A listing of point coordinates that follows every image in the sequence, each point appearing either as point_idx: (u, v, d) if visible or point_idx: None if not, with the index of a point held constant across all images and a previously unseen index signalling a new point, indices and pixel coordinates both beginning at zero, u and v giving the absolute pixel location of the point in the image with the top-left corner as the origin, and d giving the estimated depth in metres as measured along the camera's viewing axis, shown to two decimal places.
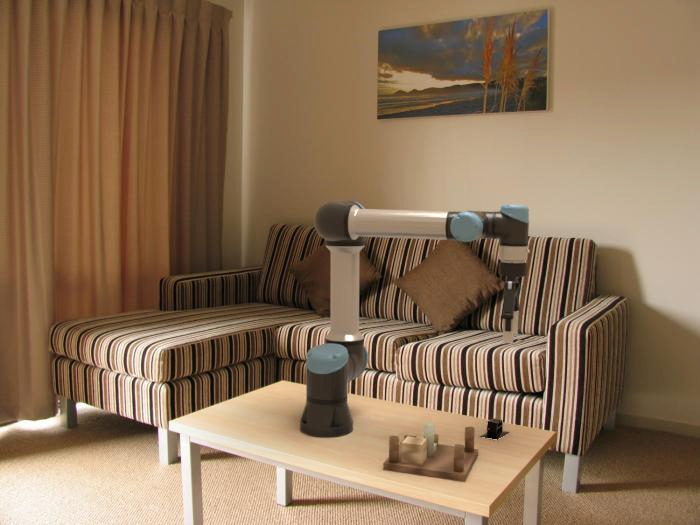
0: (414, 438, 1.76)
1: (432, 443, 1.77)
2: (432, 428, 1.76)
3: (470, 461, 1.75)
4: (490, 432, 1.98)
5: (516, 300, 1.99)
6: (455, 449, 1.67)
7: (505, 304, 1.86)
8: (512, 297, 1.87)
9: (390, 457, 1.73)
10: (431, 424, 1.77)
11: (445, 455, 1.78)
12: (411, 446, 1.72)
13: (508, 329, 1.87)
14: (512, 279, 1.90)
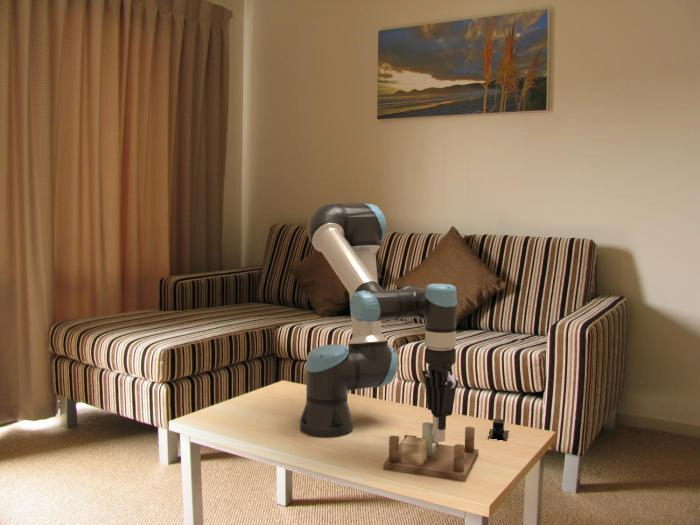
0: (414, 438, 1.76)
1: (430, 443, 1.77)
2: (430, 428, 1.76)
3: (470, 461, 1.75)
4: (496, 433, 1.98)
5: None
6: (455, 449, 1.67)
7: (446, 405, 1.71)
8: (453, 396, 1.71)
9: (390, 457, 1.73)
10: (430, 424, 1.77)
11: (445, 455, 1.78)
12: (411, 446, 1.72)
13: (443, 427, 1.74)
14: (449, 368, 1.71)
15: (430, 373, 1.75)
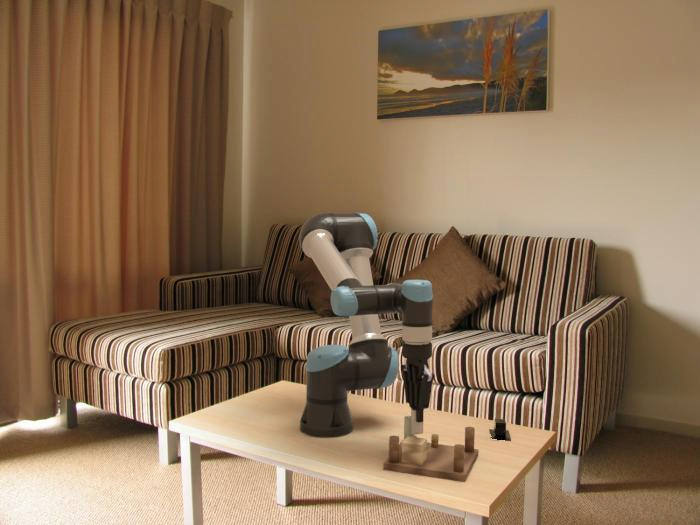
0: (414, 438, 1.76)
1: None
2: (407, 421, 1.81)
3: (470, 461, 1.75)
4: (499, 433, 1.97)
5: None
6: (455, 449, 1.67)
7: (423, 397, 1.75)
8: (430, 389, 1.76)
9: (390, 457, 1.73)
10: (409, 418, 1.82)
11: (445, 455, 1.78)
12: (411, 446, 1.72)
13: (421, 420, 1.79)
14: (426, 362, 1.76)
15: (407, 367, 1.79)
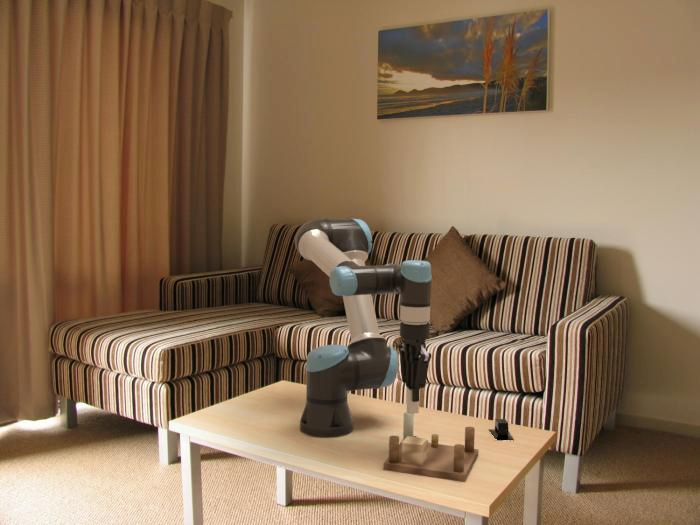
0: (414, 438, 1.76)
1: (405, 432, 1.85)
2: (404, 417, 1.85)
3: (470, 461, 1.75)
4: (501, 433, 1.97)
5: None
6: (455, 449, 1.67)
7: (419, 377, 1.77)
8: (426, 369, 1.77)
9: (390, 457, 1.73)
10: (407, 414, 1.85)
11: (445, 455, 1.78)
12: (411, 446, 1.72)
13: (417, 399, 1.80)
14: (423, 342, 1.77)
15: (405, 347, 1.81)
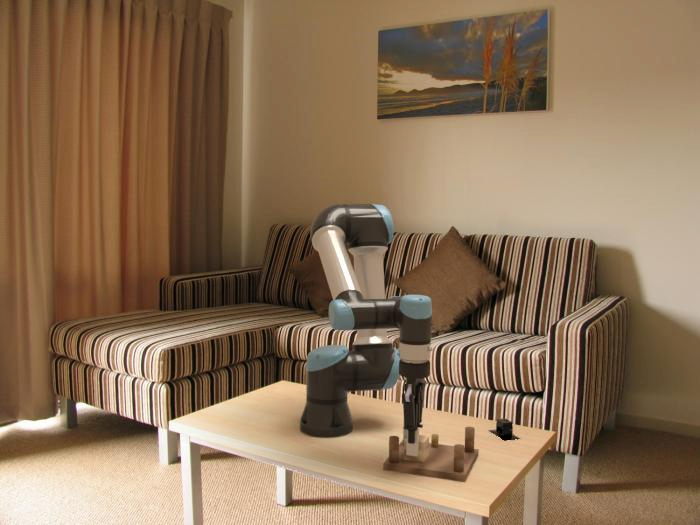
0: None
1: (405, 432, 1.85)
2: None
3: (470, 461, 1.75)
4: (506, 433, 1.97)
5: (417, 409, 1.73)
6: (455, 449, 1.67)
7: (405, 417, 1.69)
8: (411, 411, 1.67)
9: (390, 457, 1.73)
10: None
11: (445, 455, 1.78)
12: None
13: (411, 441, 1.71)
14: (411, 381, 1.68)
15: None
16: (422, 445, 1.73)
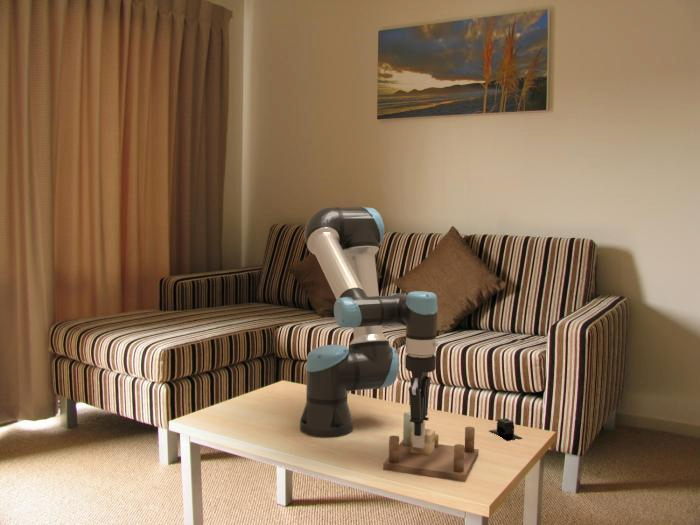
0: None
1: (405, 432, 1.85)
2: (404, 417, 1.85)
3: (470, 461, 1.75)
4: (508, 433, 1.98)
5: (423, 402, 1.78)
6: (455, 449, 1.67)
7: (412, 410, 1.74)
8: (418, 404, 1.73)
9: (390, 457, 1.73)
10: (407, 414, 1.85)
11: (445, 455, 1.78)
12: None
13: (417, 433, 1.76)
14: (417, 375, 1.73)
15: None
16: (428, 438, 1.78)
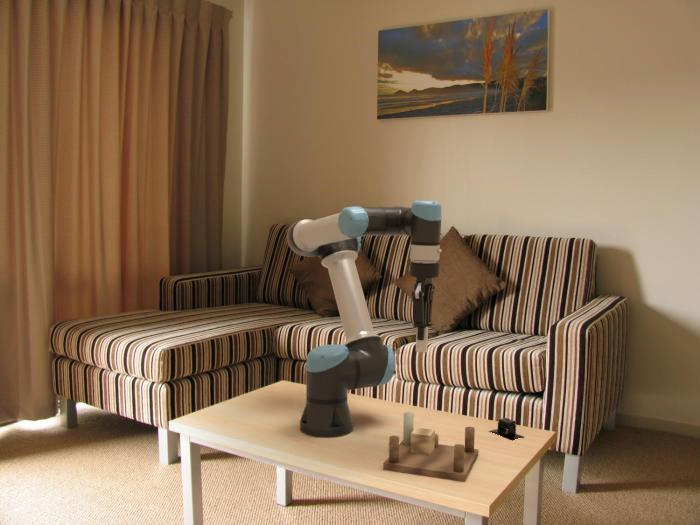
0: (422, 429, 1.83)
1: (405, 432, 1.85)
2: (404, 417, 1.85)
3: (470, 461, 1.75)
4: (511, 432, 1.98)
5: (427, 308, 1.83)
6: (455, 449, 1.67)
7: (415, 314, 1.79)
8: (421, 307, 1.78)
9: (390, 457, 1.73)
10: (407, 414, 1.85)
11: (445, 455, 1.78)
12: (419, 436, 1.79)
13: (420, 338, 1.82)
14: (421, 280, 1.79)
15: None
16: (428, 438, 1.78)
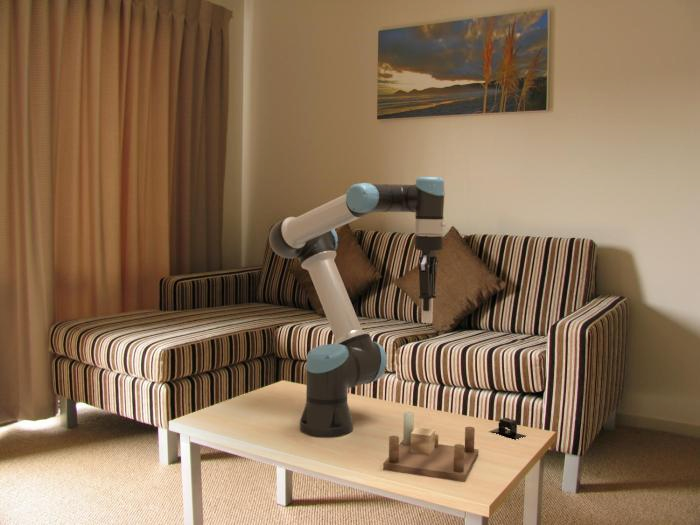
0: (422, 429, 1.83)
1: (405, 432, 1.85)
2: (404, 417, 1.85)
3: (470, 461, 1.75)
4: (512, 432, 1.99)
5: (431, 280, 1.91)
6: (455, 449, 1.67)
7: (421, 285, 1.87)
8: (427, 278, 1.86)
9: (390, 457, 1.73)
10: (407, 414, 1.85)
11: (445, 455, 1.78)
12: (419, 436, 1.79)
13: (426, 309, 1.90)
14: (426, 253, 1.87)
15: None
16: (428, 438, 1.78)
